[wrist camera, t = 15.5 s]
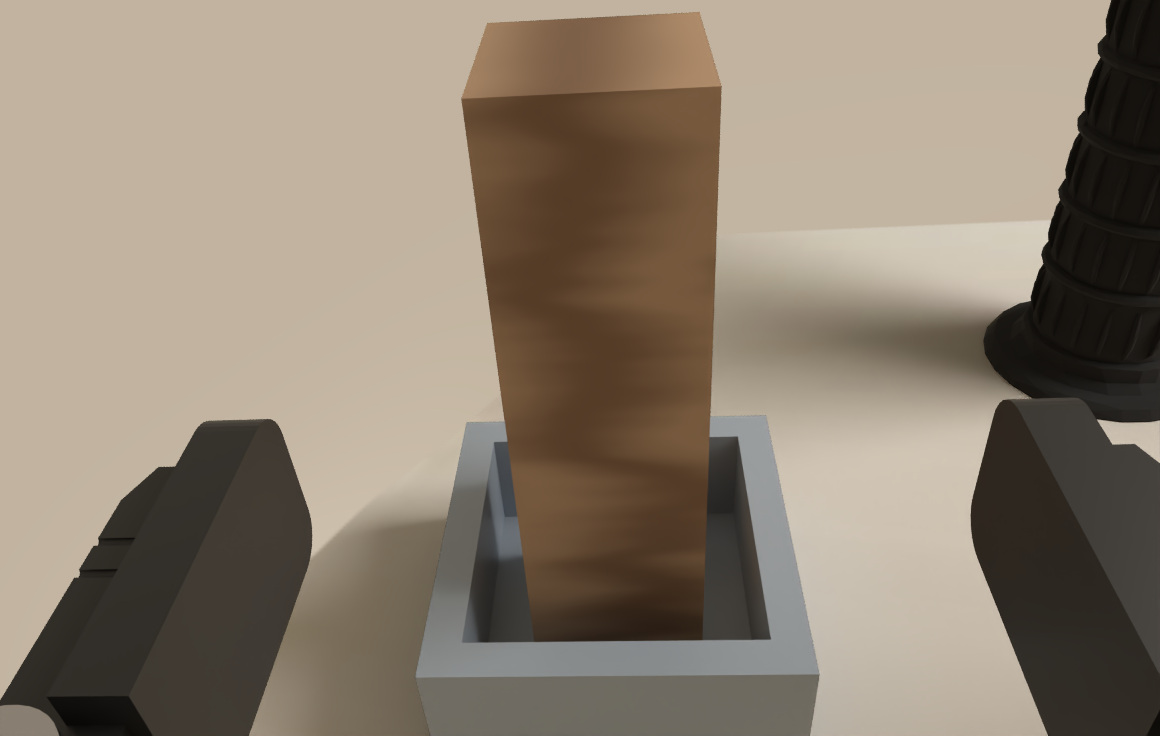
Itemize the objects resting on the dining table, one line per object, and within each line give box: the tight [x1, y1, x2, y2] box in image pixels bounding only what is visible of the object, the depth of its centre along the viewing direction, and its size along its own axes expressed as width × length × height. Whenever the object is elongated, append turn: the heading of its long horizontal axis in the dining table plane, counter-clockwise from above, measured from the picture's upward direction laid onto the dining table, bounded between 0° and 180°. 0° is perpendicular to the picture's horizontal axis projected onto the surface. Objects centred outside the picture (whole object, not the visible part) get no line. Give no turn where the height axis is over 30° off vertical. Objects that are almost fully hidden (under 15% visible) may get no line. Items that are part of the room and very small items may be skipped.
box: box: [415, 415, 820, 736], centre depth 33 cm, size 12×12×5 cm
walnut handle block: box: [462, 12, 722, 642], centre depth 28 cm, size 6×6×20 cm
